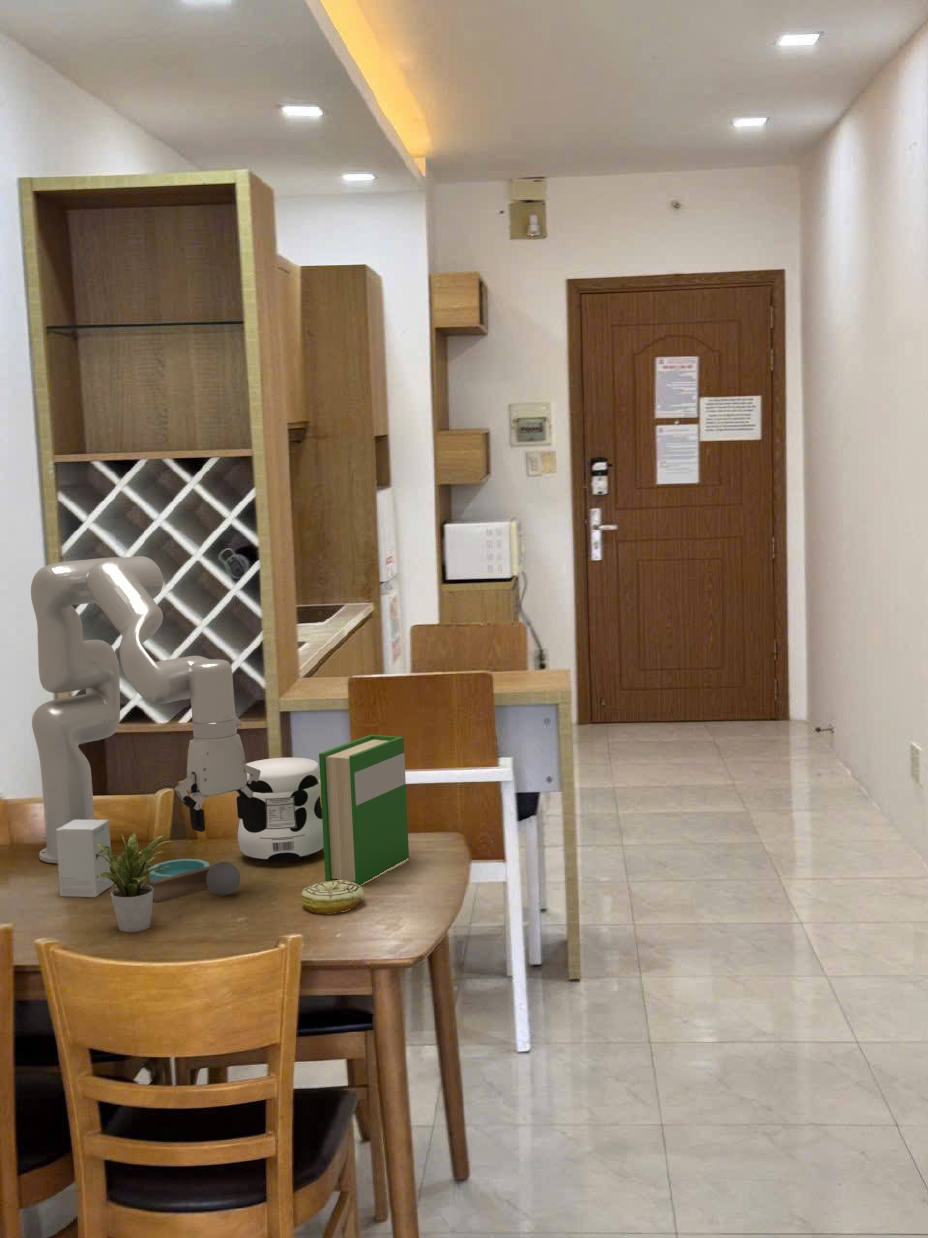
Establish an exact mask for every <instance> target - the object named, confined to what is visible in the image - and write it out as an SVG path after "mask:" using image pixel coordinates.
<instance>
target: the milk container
mask: <svg viewBox="0 0 928 1238" xmlns="http://www.w3.org/2000/svg"><path fill="white" fill-rule="evenodd" d="M246 765H248V766H250V767H253V768H256V769H258V770H260V772H261V773H260V776H259V779H258V781H257V787H256V788H255V790H254V791H253V796H252V797H251V798H250V803H251V820H244V819H240V818H239V821H238V824H237V825H238V826H237V833H236V835H237V842H238V847H239V850H240V852H241V853H242V854H243V856H245V858H247V859H249V860H253V861H254V862H255V861H256V862H260V863H270V864H271V863H278V864H279V863H288V862H289V863H291V862H296V861H300V860H305V859H307V858H311V857H313V856H317V854H319V853H320V852H322V851H323V850H324V842H323V823H322V804H321V785H320V767H319V764H318V762H317V761H315V760H314V759H309V758H305V757H275V758H274V757H273V758H265V759H260V760H254V761H250V762H247V763H246ZM249 777H250V775H249V774H248V773H247V781H248V780H249Z"/></svg>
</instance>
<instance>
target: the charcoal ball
mask: <svg viewBox="0 0 928 1238" xmlns="http://www.w3.org/2000/svg"><path fill="white" fill-rule="evenodd" d="M212 865H213V866H212ZM212 865H211V866H212V867H211V868H210V869H209V871H208V873H207V877H206V882H207V885H208V889H209V891H210V892H212V893H213V894H215V895H216V896H221V897H226V896H229V895H231V894H233V893H235V892H236V890H237V889H238V888H239V886H240V883H241V874H240V872H239V869H238V868H237V867H236V866H235V864H233V863H231V862H229V861H219V862H217V863H215V864H212Z"/></svg>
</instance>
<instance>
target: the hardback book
mask: <svg viewBox="0 0 928 1238" xmlns="http://www.w3.org/2000/svg"><path fill="white" fill-rule="evenodd" d="M405 756H406V755H405V738H404V736H392V735H378V734H377V735H376V734H369V735H366V736H363V737H361V738H358V739H356V740H352V741H350V742H347V743H344V744H341V745H338V746H337V747H333V748H330V749H328V750H325V751H323V752H320V753H318V762H319V764H318V766H319V776H320V777H319V782H320V800H321V808H322V823H323V842H324V848H323V857H324V861H323V862H324V876H325V878H324V879H325V881H333V880H335V879H337V880H347V881H350V882H354V883H356V884H357V885H361V884H363V883H364V882H366V881H368V880H370V879H372V878H373V877H375V876H377V875H379V874H380V873H382V872H384V871H385V870H387V869H389V868H391V867H393V866H395V865H396V864H398V863H400V862H402V861H404V860H406V859H407V858H409V859H410V853H409V852H410V849H409V848H410V847H409V828H408V805H407V803H408V802H407V783H406V782H407V781H406V764H405V761H406V759H405ZM325 881H324V882H325Z"/></svg>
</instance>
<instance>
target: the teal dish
mask: <svg viewBox="0 0 928 1238" xmlns="http://www.w3.org/2000/svg"><path fill="white" fill-rule="evenodd" d="M153 865H154V866H152V867H151V868H150V869H148V871H149V870H151V869H153V868H163V867H165V866H170V867H165V868H163V869H166V870H167V871H166V870H160V871H158V870H154V871H152V872H150V873H148V874H149V876H148V877H149V883H150V882H152V881H156V880H160V879H163V878H167V877H171V876H174V875H178V874H182V873H186V872H189V871H193V870H197V869H201V868H204V867H208V866H210V862H208V861H205V860H203V859H198V858H197V859H195V858H194V859H193V858H182V859H181V858H180V859H174V860H167V861H163V862H159V863H156V864H153ZM157 871H158V872H157ZM156 872H157V873H156ZM155 873H156V874H155ZM154 874H155V875H154ZM153 875H154V876H153ZM152 876H153V877H152ZM151 877H152V878H151Z"/></svg>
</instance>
